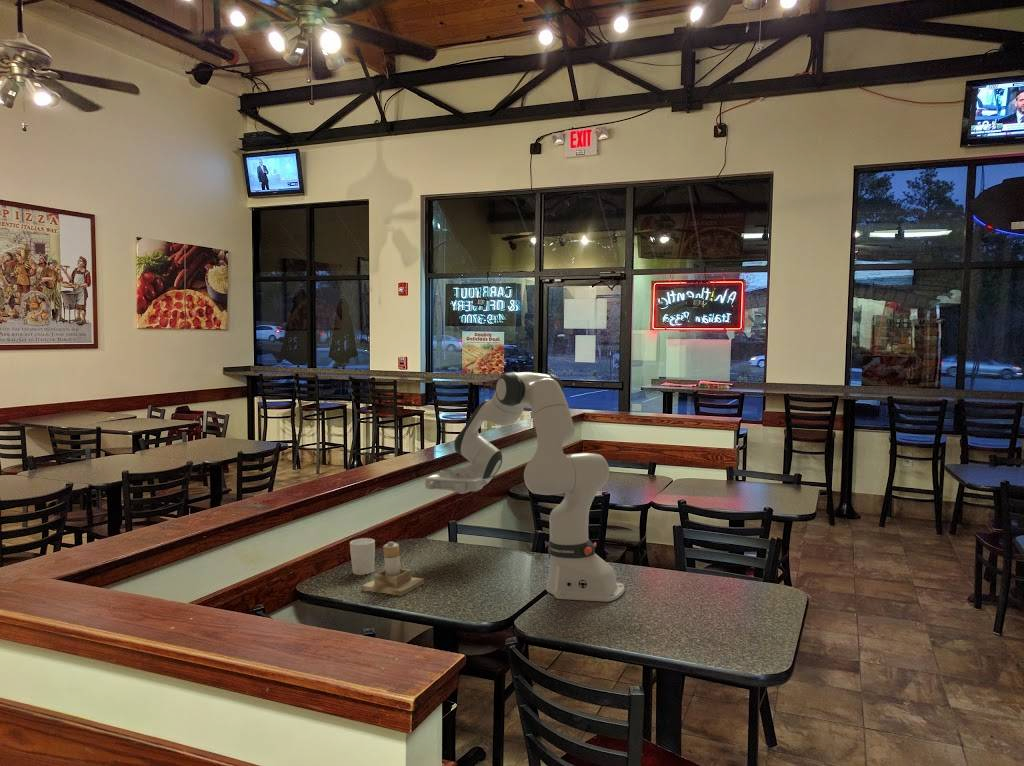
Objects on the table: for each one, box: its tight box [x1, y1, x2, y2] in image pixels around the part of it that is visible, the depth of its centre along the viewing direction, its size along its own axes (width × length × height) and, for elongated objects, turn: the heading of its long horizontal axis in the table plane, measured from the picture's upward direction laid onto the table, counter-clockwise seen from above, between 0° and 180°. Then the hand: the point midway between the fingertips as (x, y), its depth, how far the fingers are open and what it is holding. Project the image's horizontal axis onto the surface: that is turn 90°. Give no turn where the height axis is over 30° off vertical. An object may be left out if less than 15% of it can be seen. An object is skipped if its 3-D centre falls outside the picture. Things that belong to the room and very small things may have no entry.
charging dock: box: [361, 568, 425, 597], centre depth 212 cm, size 14×12×4 cm
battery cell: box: [382, 541, 401, 577], centre depth 212 cm, size 4×4×12 cm
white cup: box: [349, 537, 376, 576], centre depth 228 cm, size 8×8×10 cm
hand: (441, 487), depth 234 cm, fingers open, 8 cm apart
